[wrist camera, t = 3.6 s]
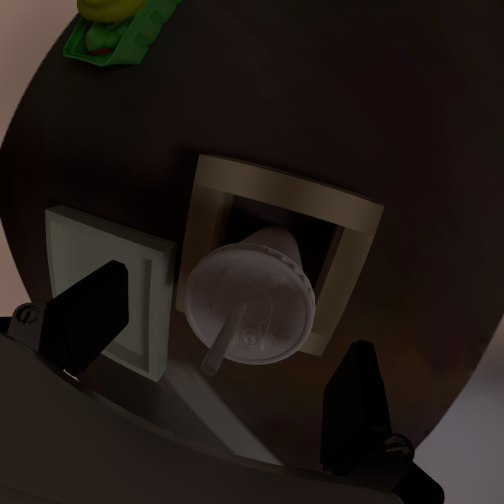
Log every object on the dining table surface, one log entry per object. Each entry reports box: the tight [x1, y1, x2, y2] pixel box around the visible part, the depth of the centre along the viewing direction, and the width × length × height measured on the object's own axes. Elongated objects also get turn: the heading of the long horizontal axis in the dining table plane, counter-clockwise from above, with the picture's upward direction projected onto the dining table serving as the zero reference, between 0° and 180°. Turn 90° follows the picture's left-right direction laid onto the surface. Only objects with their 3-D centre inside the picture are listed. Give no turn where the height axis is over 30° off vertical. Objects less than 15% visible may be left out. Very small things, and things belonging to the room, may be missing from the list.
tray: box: [45, 204, 178, 382], centre depth 26 cm, size 16×16×2 cm
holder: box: [176, 154, 384, 356], centre depth 20 cm, size 12×12×4 cm
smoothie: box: [183, 226, 316, 375], centre depth 15 cm, size 6×6×14 cm
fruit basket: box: [63, 0, 182, 66], centre depth 11 cm, size 11×9×11 cm
